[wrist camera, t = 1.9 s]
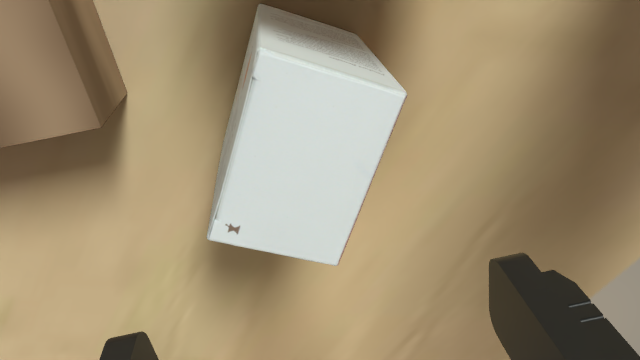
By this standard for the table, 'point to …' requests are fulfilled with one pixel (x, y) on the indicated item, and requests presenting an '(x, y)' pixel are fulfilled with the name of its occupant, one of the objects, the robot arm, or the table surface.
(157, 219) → the table surface
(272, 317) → the table surface
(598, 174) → the table surface
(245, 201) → the small box
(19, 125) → the walnut block
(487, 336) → the table surface
